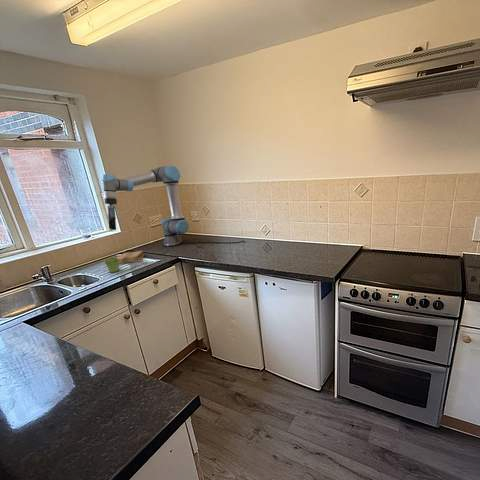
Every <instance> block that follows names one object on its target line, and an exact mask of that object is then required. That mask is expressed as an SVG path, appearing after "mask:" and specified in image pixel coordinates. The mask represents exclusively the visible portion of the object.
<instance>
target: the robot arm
mask: <svg viewBox="0 0 480 480" xmlns="http://www.w3.org/2000/svg"><path fill="white" fill-rule="evenodd" d="M180 179H181V171H180V169H178V167H176V166H175V165H163V166H159V167H156V168H154V169H150V170H148V171H147V172H144V173H139V174H135V175H131V176H126V177H122V178H117V177H116V175H114V174H107V173H105V174H103V175H102V185H103V192H102V194H103V197H104V199H103V201H104V204H105V205H107V219H108V228H109V230H111V231H116V230H117V221H116V220H117V218H116V211H115V209H116V207H115V205H117V204H118V199H117V195H118V194H117V192H132V191H133V190H134V188H135V187H138V186H142V185H145V184H150V183H153V184H155V183H163V185H164V186H165V187H166V193H167V194H166V195H167V199H168V204H169V210H170V215H171V216H170V217H168V218H164V219H161V220H160V225H161V228H162V229H161V230H162V234H163V236H164V239H163V245H164V247H175V246H178V245H181V244H187V245H191V244H205V243H206V244H240V243H247V241H245V240H240V241H227V242H225V241H223V242H222V241H194V242H185V241H183V240H182V239H181V237H180V235H184V234H186V233H187V232H188V230H189V229H190V227H189V223H188V221H187V220H186V217H185V216H184V215H183V212H182V207H181V199H180V193H179V189H178V188H179V187H178V185H179V183H180V182H179V180H180Z"/></svg>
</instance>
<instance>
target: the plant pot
mask: <svg viewBox="0 0 480 480" xmlns="http://www.w3.org/2000/svg"><path fill="white" fill-rule="evenodd" d="M118 257H119V256H113V257H109V258H106V259H103V262H104V264H105V266H106V267H107V269H108V271H109V272H110V273H115V272H118V271H120V264H118Z"/></svg>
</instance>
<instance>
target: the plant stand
mask: <svg viewBox="0 0 480 480" xmlns="http://www.w3.org/2000/svg"><path fill="white" fill-rule="evenodd" d="M145 256H146V254H145V251H144V250H137V251H129V252H124V253H122V254H120V256H117V257H118V264H119V265H123V264H124V265H125V264H130V263H136V262H138V263H139V262H140V261H141V260H142V259H143V258H144V257H145Z"/></svg>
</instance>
